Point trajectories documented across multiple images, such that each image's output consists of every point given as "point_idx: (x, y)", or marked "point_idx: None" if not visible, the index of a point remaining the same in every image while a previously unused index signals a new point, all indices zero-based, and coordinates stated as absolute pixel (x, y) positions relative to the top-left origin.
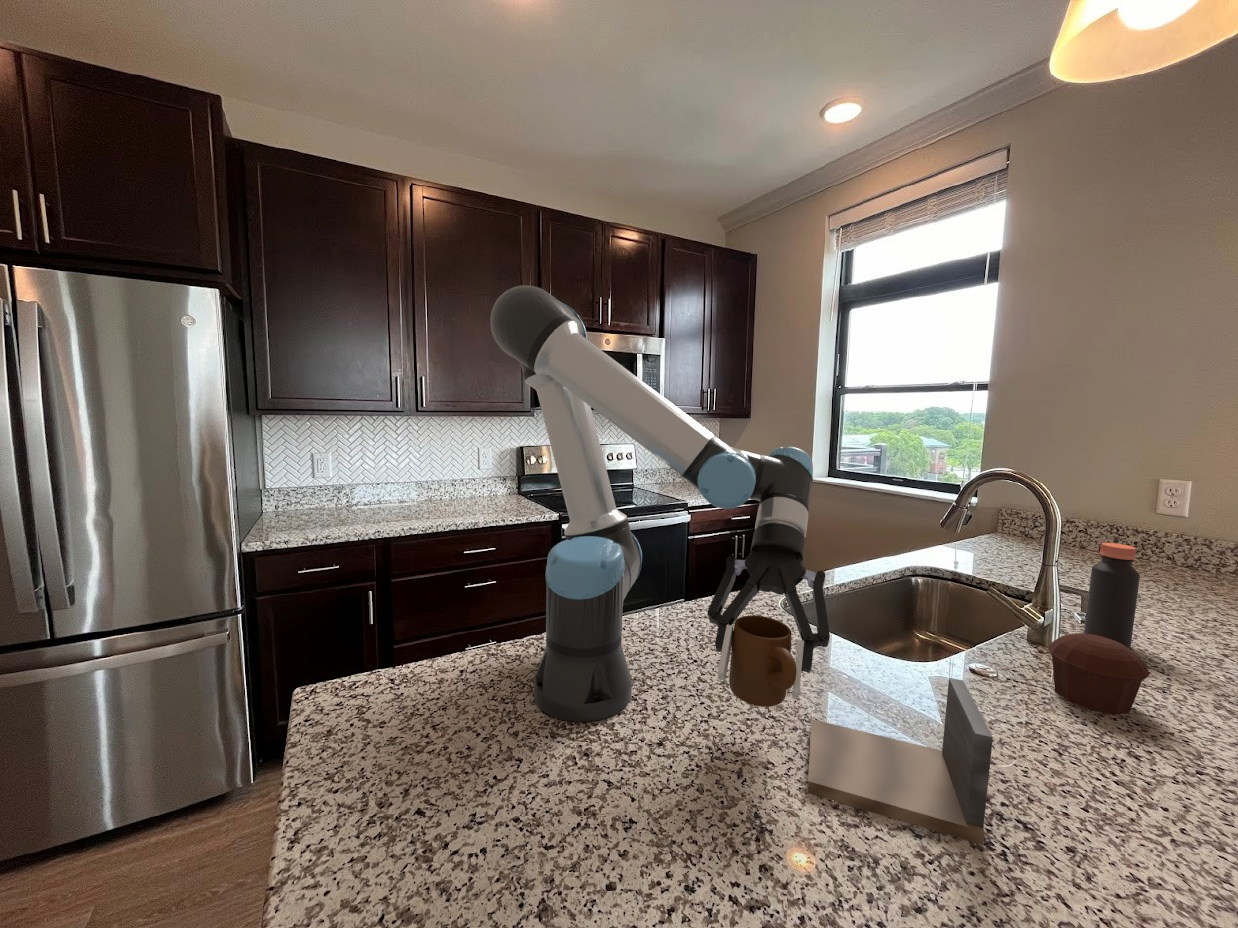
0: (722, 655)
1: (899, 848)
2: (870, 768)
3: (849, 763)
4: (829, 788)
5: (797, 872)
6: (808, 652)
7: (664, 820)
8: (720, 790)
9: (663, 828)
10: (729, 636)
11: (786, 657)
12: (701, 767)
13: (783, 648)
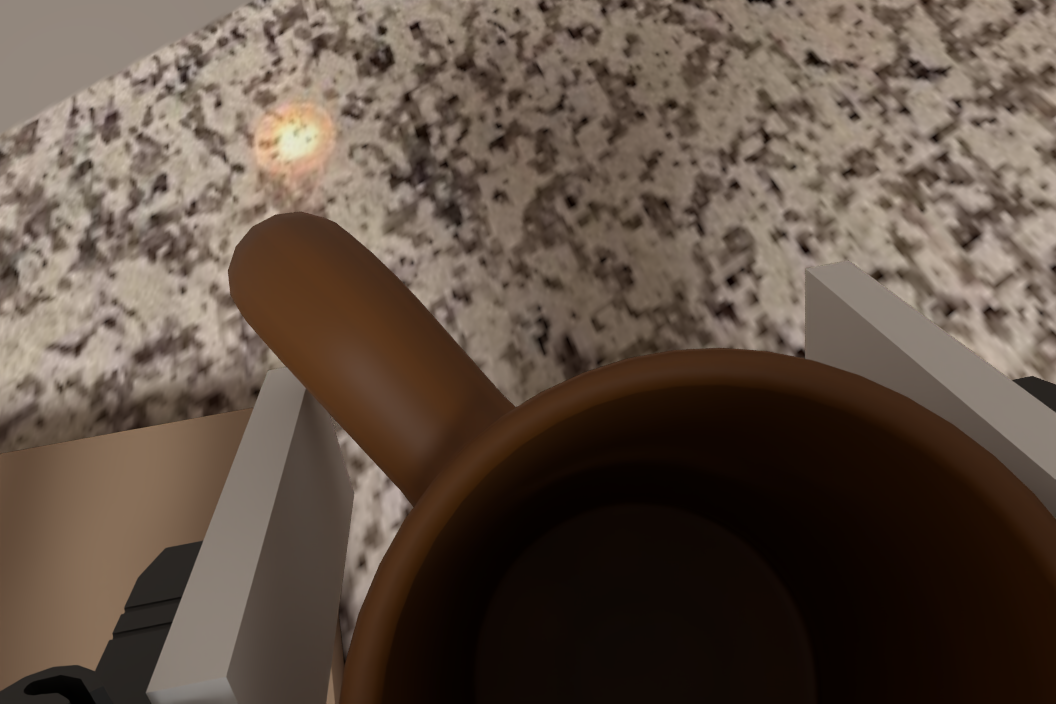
0: (906, 314)
1: (11, 340)
2: (53, 651)
3: None
4: (222, 415)
5: (296, 95)
6: (142, 662)
7: (686, 46)
8: (597, 245)
9: (673, 23)
10: (995, 417)
11: (296, 222)
12: (709, 310)
13: (345, 319)
